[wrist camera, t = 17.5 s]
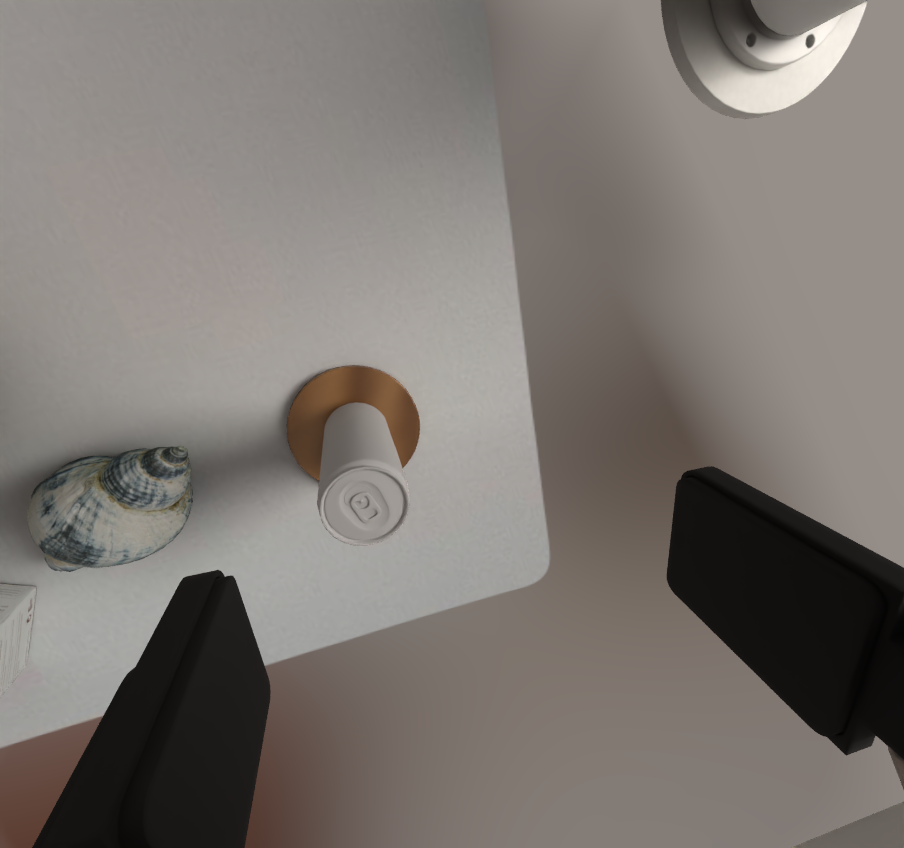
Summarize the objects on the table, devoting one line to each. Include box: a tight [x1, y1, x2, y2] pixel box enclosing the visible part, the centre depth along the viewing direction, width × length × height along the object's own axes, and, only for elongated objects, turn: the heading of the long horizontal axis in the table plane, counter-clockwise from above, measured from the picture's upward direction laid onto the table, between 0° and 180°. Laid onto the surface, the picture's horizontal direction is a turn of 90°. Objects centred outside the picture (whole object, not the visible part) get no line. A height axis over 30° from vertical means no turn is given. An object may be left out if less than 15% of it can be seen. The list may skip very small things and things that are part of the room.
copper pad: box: [287, 365, 420, 481], centre depth 33 cm, size 10×10×1 cm
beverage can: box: [317, 402, 410, 545], centre depth 28 cm, size 5×5×12 cm
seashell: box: [27, 446, 193, 572], centre depth 28 cm, size 6×8×12 cm
